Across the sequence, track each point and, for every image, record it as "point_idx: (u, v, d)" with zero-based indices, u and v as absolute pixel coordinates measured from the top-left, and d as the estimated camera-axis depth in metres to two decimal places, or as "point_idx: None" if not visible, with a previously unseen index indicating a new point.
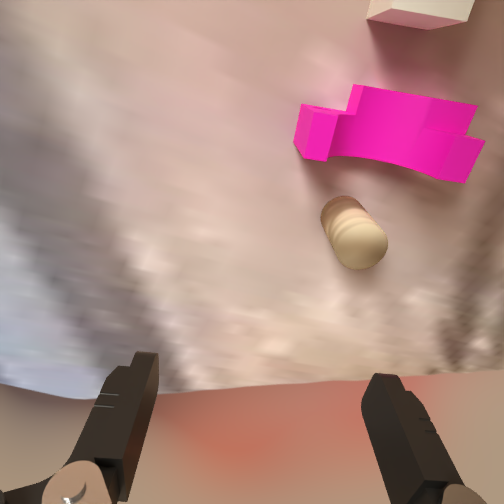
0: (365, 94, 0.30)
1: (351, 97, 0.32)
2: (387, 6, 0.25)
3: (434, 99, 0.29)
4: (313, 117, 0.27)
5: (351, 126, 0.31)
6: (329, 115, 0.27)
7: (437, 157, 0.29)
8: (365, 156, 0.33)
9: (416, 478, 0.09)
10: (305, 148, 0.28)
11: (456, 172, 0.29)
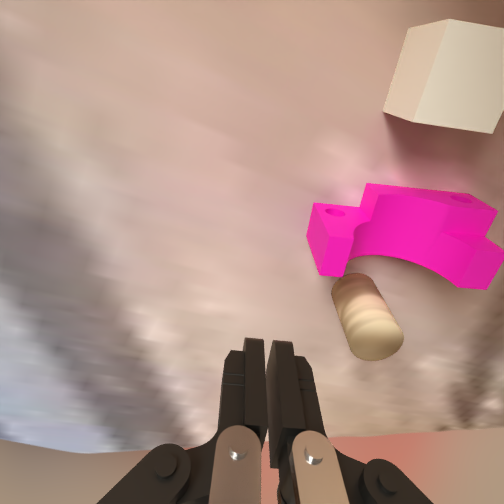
0: (380, 201, 0.29)
1: (365, 196, 0.31)
2: (408, 117, 0.24)
3: (452, 207, 0.28)
4: (328, 240, 0.26)
5: (366, 231, 0.30)
6: (345, 238, 0.26)
7: (457, 265, 0.28)
8: (381, 253, 0.32)
9: (280, 427, 0.10)
10: (320, 266, 0.28)
11: (477, 281, 0.28)
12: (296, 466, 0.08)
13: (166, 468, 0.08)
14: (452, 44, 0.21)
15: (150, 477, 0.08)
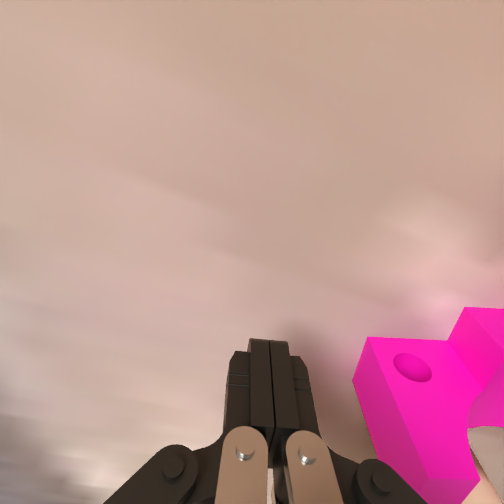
0: None
1: (462, 330, 0.17)
2: None
3: None
4: (425, 482, 0.12)
5: (473, 404, 0.16)
6: (461, 478, 0.12)
7: None
8: (489, 424, 0.18)
9: (274, 427, 0.10)
10: None
11: None
12: (289, 466, 0.08)
13: (173, 469, 0.08)
14: None
15: (158, 478, 0.08)
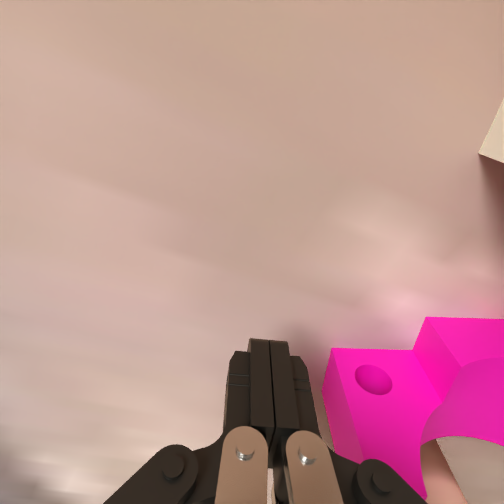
0: (462, 373, 0.15)
1: (424, 341, 0.17)
2: None
3: None
4: None
5: (434, 416, 0.16)
6: None
7: None
8: (456, 434, 0.18)
9: (274, 427, 0.10)
10: None
11: None
12: (289, 466, 0.08)
13: (173, 469, 0.08)
14: None
15: (158, 478, 0.08)
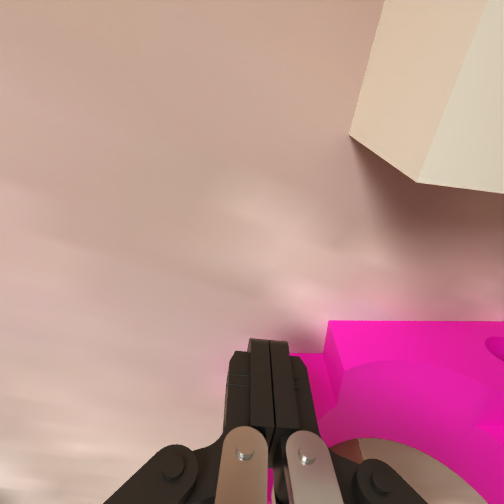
0: (350, 377, 0.15)
1: (328, 344, 0.18)
2: (403, 163, 0.08)
3: (494, 391, 0.14)
4: None
5: (332, 419, 0.16)
6: None
7: None
8: (367, 436, 0.18)
9: (274, 427, 0.10)
10: None
11: None
12: (289, 466, 0.08)
13: (173, 468, 0.08)
14: None
15: (157, 478, 0.08)
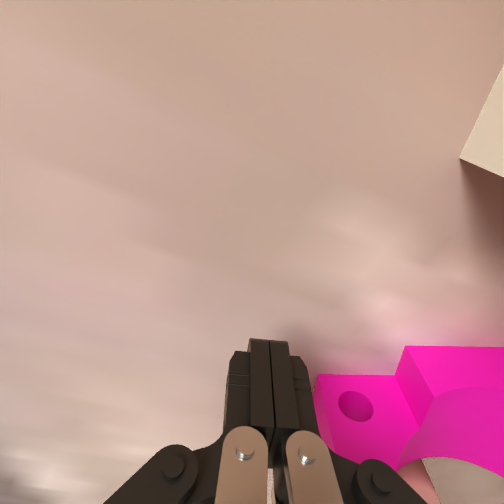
0: (436, 402, 0.16)
1: (404, 368, 0.18)
2: None
3: None
4: None
5: (413, 441, 0.17)
6: None
7: None
8: (437, 455, 0.19)
9: (274, 427, 0.10)
10: None
11: None
12: (289, 466, 0.08)
13: (173, 469, 0.08)
14: None
15: (158, 478, 0.08)
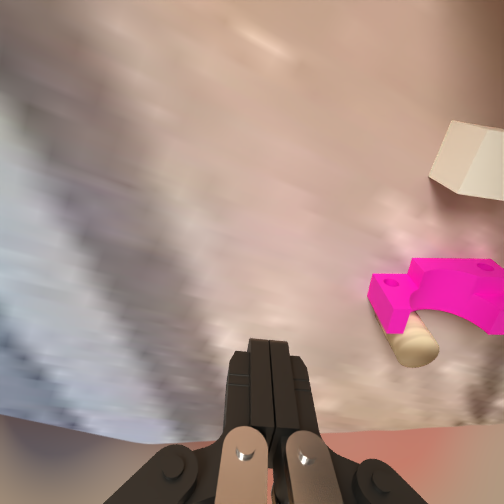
0: (425, 275, 0.40)
1: (411, 267, 0.42)
2: (452, 188, 0.32)
3: (479, 277, 0.39)
4: (393, 311, 0.37)
5: (416, 295, 0.41)
6: (404, 309, 0.37)
7: (487, 318, 0.39)
8: (427, 308, 0.43)
9: (274, 427, 0.10)
10: (387, 327, 0.39)
11: (503, 329, 0.39)
12: (289, 466, 0.08)
13: (173, 469, 0.08)
14: (489, 145, 0.29)
15: (158, 478, 0.08)
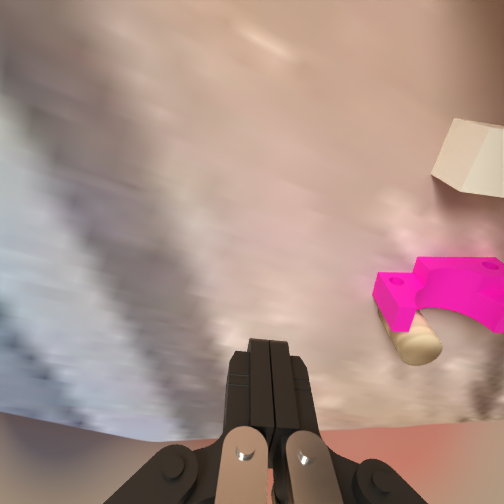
0: (430, 274, 0.40)
1: (417, 266, 0.42)
2: (455, 186, 0.33)
3: (485, 276, 0.39)
4: (399, 310, 0.37)
5: (421, 293, 0.41)
6: (410, 307, 0.37)
7: (492, 317, 0.39)
8: (432, 306, 0.43)
9: (274, 427, 0.10)
10: (392, 325, 0.39)
11: None
12: (289, 466, 0.08)
13: (173, 468, 0.08)
14: (492, 143, 0.30)
15: (157, 478, 0.08)
